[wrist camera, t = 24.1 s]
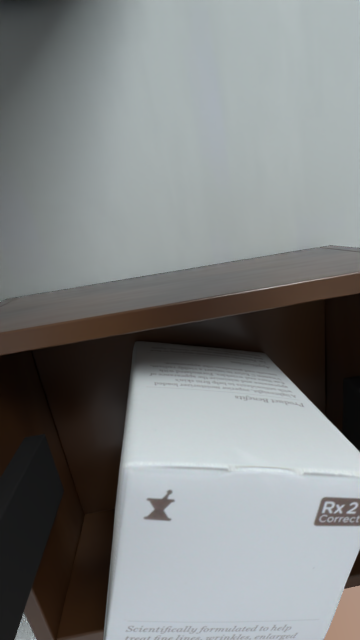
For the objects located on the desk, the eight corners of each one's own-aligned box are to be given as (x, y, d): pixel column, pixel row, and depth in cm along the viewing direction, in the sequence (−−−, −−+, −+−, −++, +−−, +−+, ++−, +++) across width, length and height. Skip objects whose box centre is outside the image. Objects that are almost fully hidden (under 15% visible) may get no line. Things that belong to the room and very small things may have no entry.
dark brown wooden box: (78, 515, 16) (42, 655, 11) (5, 299, 12) (-101, 350, 7) (331, 465, 17) (413, 574, 11) (331, 245, 13) (451, 255, 8)
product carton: (121, 454, 14) (94, 668, 7) (134, 336, 13) (115, 467, 6) (242, 461, 15) (321, 659, 8) (270, 350, 14) (398, 480, 7)
